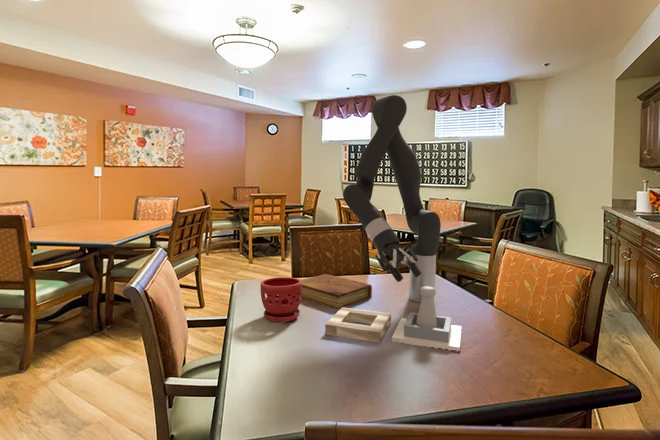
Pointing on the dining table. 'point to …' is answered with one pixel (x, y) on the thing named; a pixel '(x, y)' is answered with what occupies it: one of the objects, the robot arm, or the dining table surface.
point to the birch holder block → (356, 331)
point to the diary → (335, 291)
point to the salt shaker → (427, 308)
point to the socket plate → (428, 333)
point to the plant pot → (281, 298)
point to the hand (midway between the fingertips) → (410, 277)
